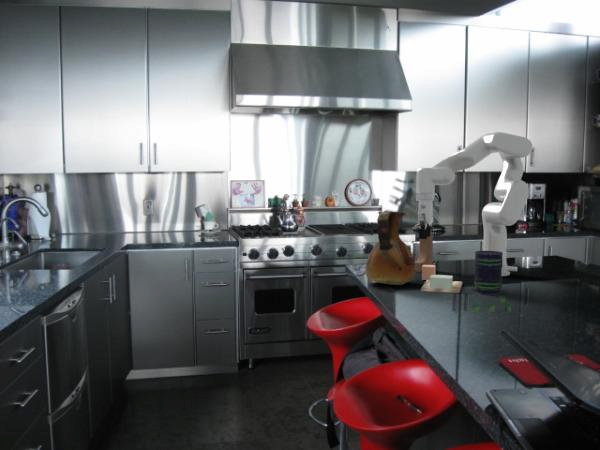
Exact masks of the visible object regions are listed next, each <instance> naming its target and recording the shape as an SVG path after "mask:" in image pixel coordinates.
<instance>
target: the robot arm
mask: <svg viewBox="0 0 600 450" xmlns="http://www.w3.org/2000/svg"><path fill="white" fill-rule="evenodd" d="M533 148H534V147H533V143H532V141H531V139H529V138H528V137H525V136H521V135H516V134H511V133H507V132H501V131H499V132H498V131H496V132H490V133H489V132H488V133H486V134H483V135H481V136H480V137H478V138H477V139H476V140H474V141H473V142H471V143H469V144H468V145H467V146H465V147H464V148H463V149H461V150H459V151H457V152H455V153H453V154H452V155H450V156H448V157H446V158H444V159H443V160H441V161H439V162H438V163H436V164H435V165H434V166H432V167H418V168H417V170H416V180H415V181H416V192H415V195H416V196H415V197H416V198H415V201H416V202H417V201H418V211H417V213H418V215H417V217H418V220H417V221H418V224H419V227H418V228H419V229H418V239H419V240H420V239H427V237H430V232H432V231H431V229H432V227H431V225H432V224H433V223H434V206H433V205H434V204H433V202H434V201H435V195H436V191H435V189H436V188H435V187H436V186H447V185H451V184H453V182H454V181H455V179H456V173H457V172H460V171H463V170H467V169H469V168H470V169H471V168H472V167H474V166H476V165H477V164H479V163H480V162H481V161H483V160H485V158H488V157H489V156H490V155H491V154H494V153H498V154H499V156H500V158H501V160H502V166H503V167H502V170H501V173H500V176H499V178H498V179H497V182H496V185H495V187H494V191H493V195H494V198H496V200H498V201H499V202H489V203H487V204H486V205H484V207H483V208H482V211H481V218H482V219H481V220H482V224H483V227H482V228H483V250H482V251H498V252H502V253H503V255H502V260H503V263H502V265H503V266H502V276H501V277H508V276H510V275H511V272H518V266H510V265H508V263H507V246H508V245H507V244H508V243H507V241H508V240H507V239H508V237H507V236H508V233H507V228H506V226H507V227H508V226H509V227H510V226H513V225H515V224H516V222H518V220H519V219H520V217H521V214H522V212H523V209H524V207H525V205H526V202H527V200H528V198H529V195H530V194H529V192H530V191H529V186H528V184H527V182H525V181H523V180H522V177H523V174H524V164H523V161H522V158H527V157H528V156H529V155H530V154H532V152H533ZM500 201H501V202H500Z"/></svg>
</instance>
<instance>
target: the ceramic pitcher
mask: <svg viewBox="0 0 600 450" xmlns="http://www.w3.org/2000/svg"><path fill="white" fill-rule="evenodd" d="M377 214H378V216H377V219H376V220H377V221H376V228H377V235H378V242H377V243H376V244H375V245H374V247H373V248H372V249H371V251H370V253H369V255H368V258H367V261H366V265H365V275H366V278H367V279H368V280H371V281H372V282H376V283H379V284H385V285H395V286H403V285H405V284H407V283H409V282H412V281H413V280H414V279H415V276H416V272H415V258H414V256H413V253H412V251H411V250H410V248H409V246H408V245H407V244H406V243H405V242H404V241H402V239H401V237H400V235H399V227H400V220H401V218H402V217H403V216H404V215H405V214H406V212H401V211H392V210H391V211H390V210H384V211H381V210H380V211H378V213H377Z"/></svg>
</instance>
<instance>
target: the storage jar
mask: <svg viewBox="0 0 600 450" xmlns="http://www.w3.org/2000/svg"><path fill="white" fill-rule="evenodd" d="M474 254H475V255H474V267H475V275H474V278H473V279H474V293H475V294H480V295H484V296H485V295H488V296H492V295H493V296H496V295H502V293H503V290H502V289H503V276H502V266H503V265H502V263H503V260H502V255H503V253H502V252H498V251H483V250H476V251H475V252H474Z"/></svg>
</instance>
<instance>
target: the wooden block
mask: <svg viewBox="0 0 600 450" xmlns="http://www.w3.org/2000/svg"><path fill="white" fill-rule="evenodd" d="M433 237H434V233H433V231H431V232H430V237H427V239H419V254H418V258H417V260H414V262H415V273H420V272H422V266H423V265H434V264H433V259H434V258H433V257H434V255H433V249H434V247H433V246H434V243H433V242H434V239H433Z"/></svg>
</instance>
